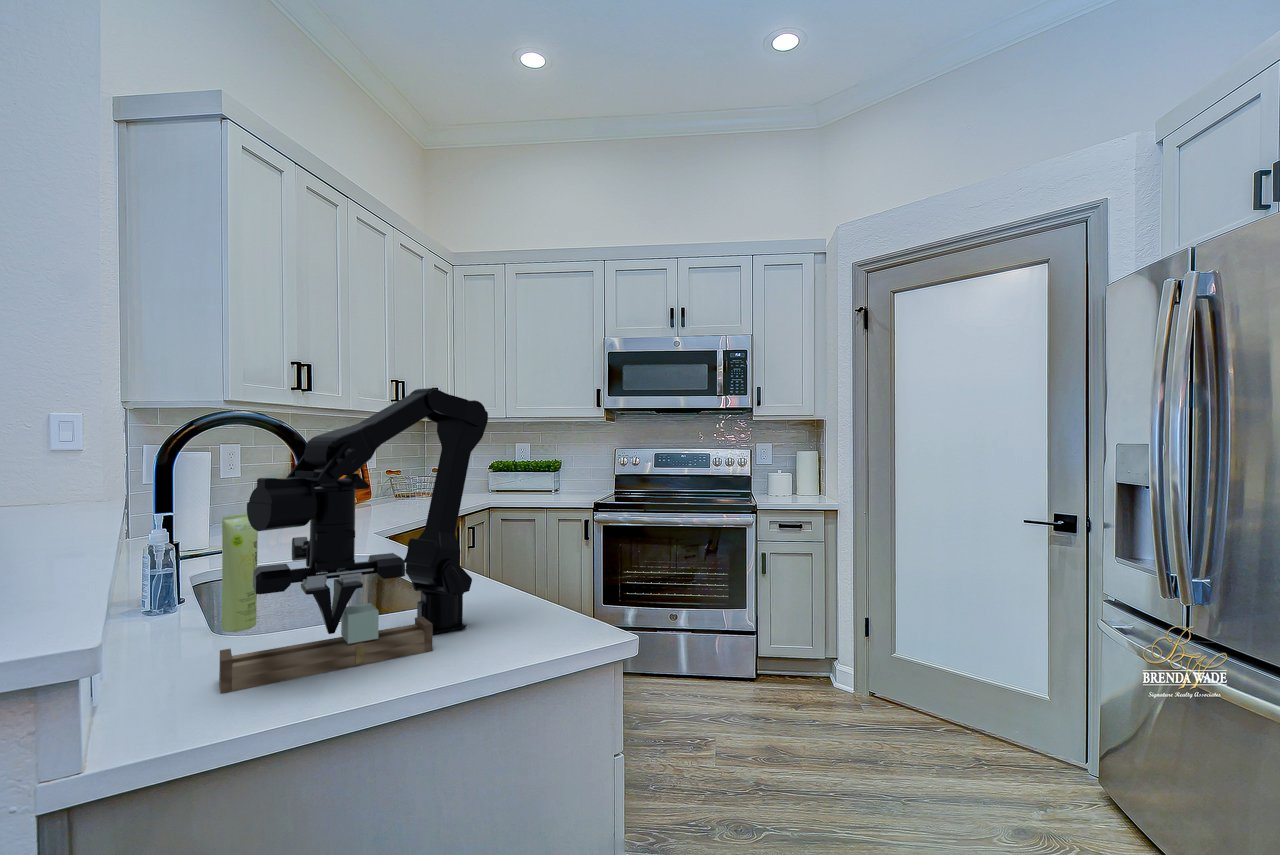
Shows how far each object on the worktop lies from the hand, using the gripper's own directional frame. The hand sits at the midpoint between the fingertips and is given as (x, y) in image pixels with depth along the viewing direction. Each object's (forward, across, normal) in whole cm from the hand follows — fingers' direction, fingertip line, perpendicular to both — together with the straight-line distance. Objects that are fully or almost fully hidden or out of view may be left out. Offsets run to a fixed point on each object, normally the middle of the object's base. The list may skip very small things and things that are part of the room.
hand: (331, 633), depth 86 cm
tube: (+5, +10, -28) cm, 30 cm away
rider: (+3, -4, 0) cm, 5 cm away
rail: (+4, 0, 0) cm, 5 cm away
